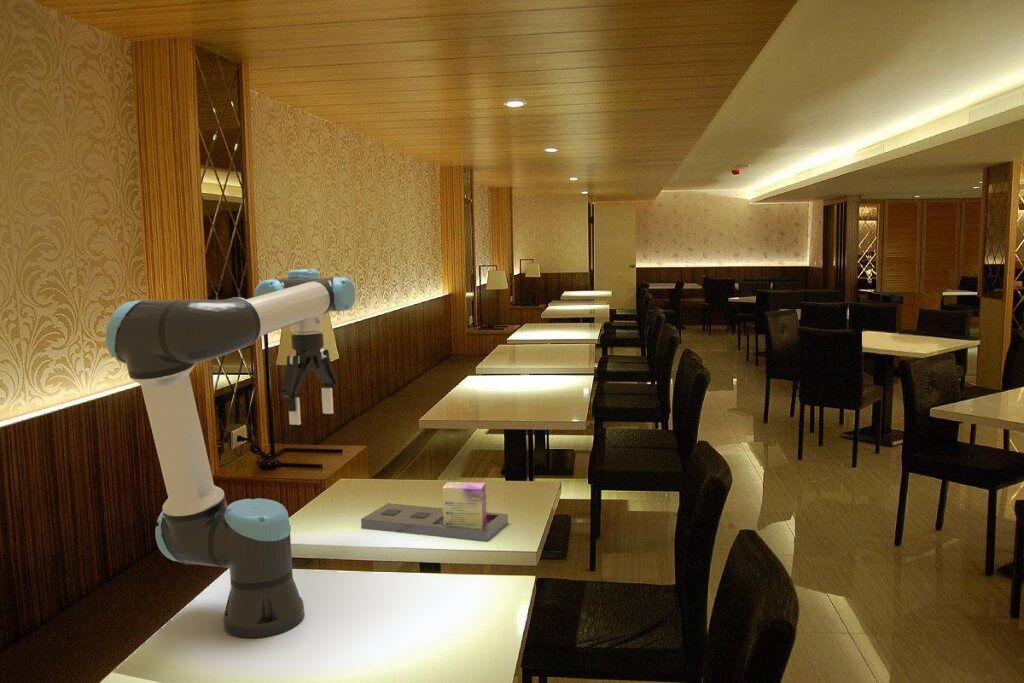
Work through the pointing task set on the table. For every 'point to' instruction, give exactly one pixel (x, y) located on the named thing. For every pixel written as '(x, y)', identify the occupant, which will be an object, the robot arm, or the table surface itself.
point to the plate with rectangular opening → (429, 522)
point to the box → (464, 504)
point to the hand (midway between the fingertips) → (312, 418)
